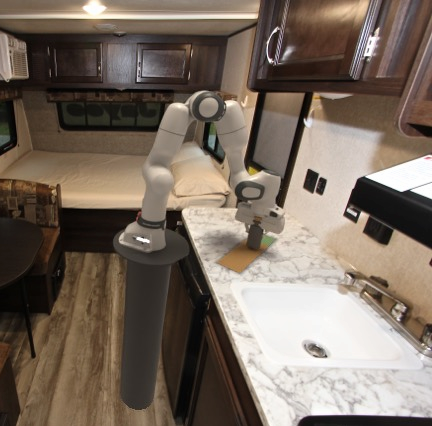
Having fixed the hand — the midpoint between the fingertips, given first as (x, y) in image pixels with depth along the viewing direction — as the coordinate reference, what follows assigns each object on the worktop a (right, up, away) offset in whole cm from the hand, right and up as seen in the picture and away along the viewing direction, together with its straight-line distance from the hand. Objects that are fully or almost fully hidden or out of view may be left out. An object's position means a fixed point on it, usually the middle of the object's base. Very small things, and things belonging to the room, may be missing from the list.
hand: (254, 235), depth 132 cm
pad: (+9, -3, +11) cm, 14 cm away
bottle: (0, -5, +2) cm, 6 cm away
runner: (-6, -8, -3) cm, 11 cm away
